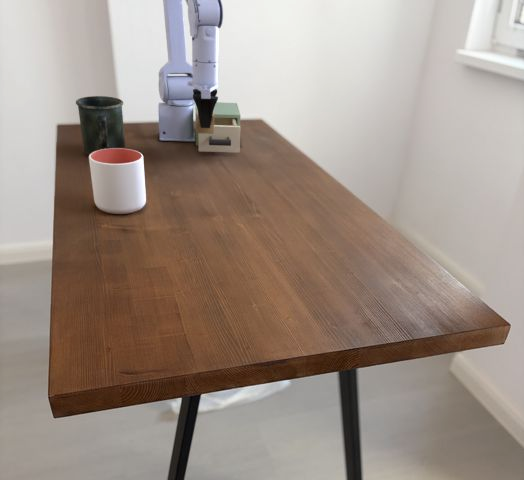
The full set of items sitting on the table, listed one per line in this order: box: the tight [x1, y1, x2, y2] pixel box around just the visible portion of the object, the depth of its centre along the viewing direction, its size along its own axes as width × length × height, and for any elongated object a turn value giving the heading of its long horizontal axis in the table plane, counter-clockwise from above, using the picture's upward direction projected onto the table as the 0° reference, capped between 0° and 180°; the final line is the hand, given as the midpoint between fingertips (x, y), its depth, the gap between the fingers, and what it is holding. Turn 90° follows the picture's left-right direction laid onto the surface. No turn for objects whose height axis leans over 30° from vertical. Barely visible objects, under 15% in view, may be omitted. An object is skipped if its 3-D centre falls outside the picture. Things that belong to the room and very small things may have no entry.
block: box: [197, 111, 214, 134], centre depth 129 cm, size 4×4×4 cm
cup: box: [88, 148, 147, 215], centre depth 107 cm, size 10×10×10 cm
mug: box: [75, 95, 126, 157], centre depth 131 cm, size 11×15×12 cm
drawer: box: [198, 117, 241, 154], centre depth 141 cm, size 17×10×6 cm, turn 6°
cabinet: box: [194, 101, 241, 147], centre depth 150 cm, size 14×12×8 cm
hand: (205, 125), depth 129 cm, fingers closed on block, 4 cm apart
